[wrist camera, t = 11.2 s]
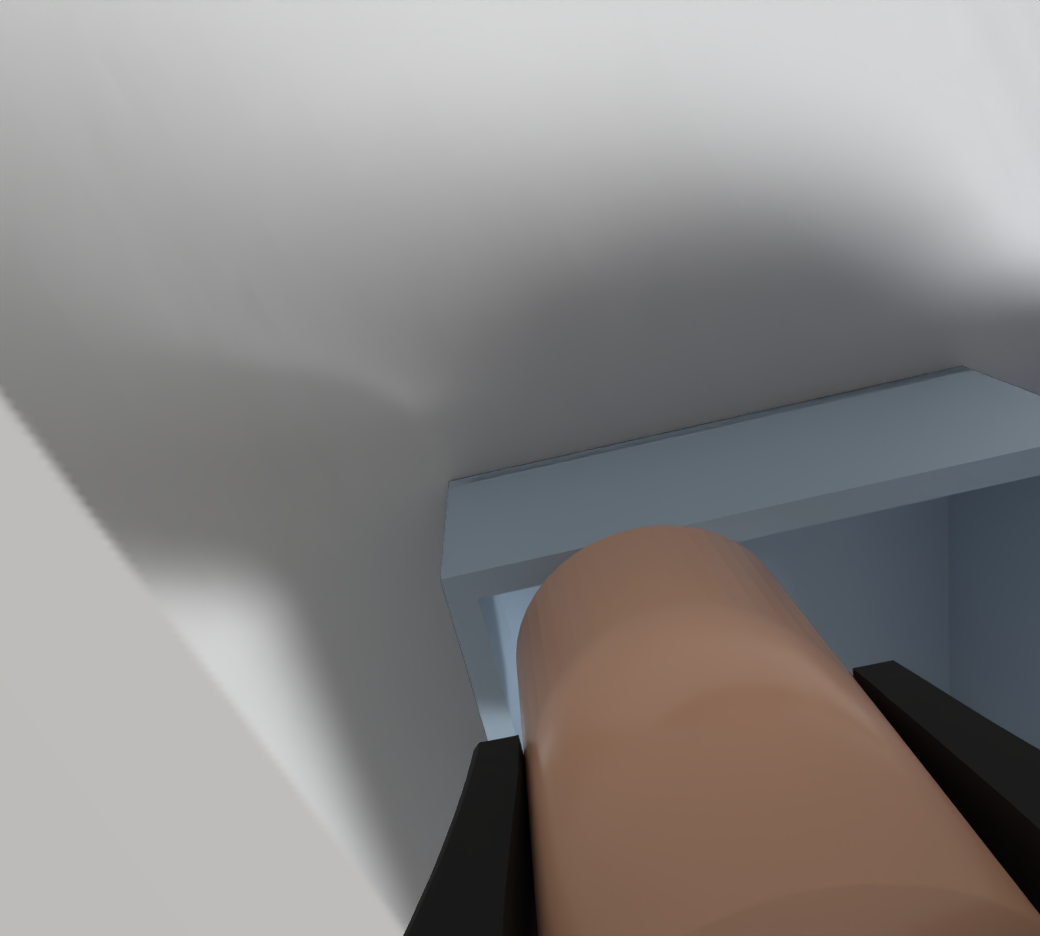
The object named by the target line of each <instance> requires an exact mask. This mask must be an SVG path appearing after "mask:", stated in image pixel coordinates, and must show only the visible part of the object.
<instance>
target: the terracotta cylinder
mask: <svg viewBox="0 0 1040 936" xmlns="http://www.w3.org/2000/svg"><path fill="white" fill-rule="evenodd" d="M516 665H517V678H518V691H519V703H520V716H521V728H522V741H523V753H524V765H525V777H526V790H527V802H528V815H529V828H530V840H531V853H532V865H533V878H534V890H535V903H536V915H537V928H538V936H1040V914H1039V913H1038V911H1037V910H1036V909H1035V907H1034V906H1033V905H1032V904H1031V902H1030V901H1029V900H1028V899H1027V897H1026V896H1025V895H1024V893H1023V892H1022V891H1021V890H1020V888H1019V887H1018V886H1017V885H1016V883H1015V882H1014V881H1013V879H1012V878H1011V877H1010V876H1009V874H1008V873H1007V872H1006V871H1005V869H1004V868H1003V867H1002V865H1001V864H1000V863H999V862H998V860H997V859H996V858H995V857H994V855H993V854H992V853H991V851H990V850H989V849H988V848H987V846H986V845H985V844H984V843H983V841H982V840H981V839H980V837H979V836H978V835H977V834H976V832H975V831H974V830H973V829H972V827H971V826H970V825H969V823H968V822H967V821H966V820H965V818H964V817H963V816H962V815H961V813H960V812H959V811H958V809H957V808H956V807H955V806H954V804H953V803H952V802H951V801H950V799H949V798H948V797H947V795H946V794H945V793H944V792H943V790H942V789H941V788H940V787H939V785H938V784H937V783H936V781H935V780H934V779H933V778H932V776H931V775H930V774H929V773H928V771H927V770H926V769H925V767H924V766H923V765H922V764H921V762H920V761H919V760H918V759H917V757H916V756H915V755H914V753H913V752H912V751H911V750H910V748H909V747H908V746H907V745H906V743H905V742H904V741H903V739H902V738H901V737H900V736H899V734H898V733H897V732H896V731H895V729H894V728H893V727H892V725H891V724H890V723H889V722H888V720H887V719H886V718H885V716H884V715H883V714H882V713H881V711H880V710H879V709H878V708H877V706H876V705H875V704H874V702H873V701H872V700H871V699H870V697H869V696H868V695H867V694H866V692H865V691H864V690H863V688H862V687H861V686H860V685H859V683H858V682H857V681H856V680H855V678H854V677H853V676H852V674H851V673H850V672H849V671H848V669H847V668H846V667H845V666H844V664H843V663H842V662H841V660H840V659H839V658H838V657H837V655H836V654H835V653H834V652H833V650H832V649H831V648H830V646H829V645H828V644H827V643H826V641H825V640H824V639H823V638H822V636H821V635H820V634H819V632H818V631H817V630H816V629H815V627H814V626H813V625H812V624H811V622H810V621H809V620H808V618H807V617H806V616H805V615H804V613H803V612H802V611H801V610H800V608H799V607H798V606H797V604H796V603H795V602H794V601H793V599H792V598H791V597H790V596H789V594H788V593H787V592H786V590H785V589H784V588H783V587H782V585H781V584H780V583H779V582H778V580H777V579H776V578H775V576H774V575H773V574H772V573H771V572H770V570H769V569H768V568H767V567H766V566H765V564H764V563H763V562H762V561H761V560H759V559H758V558H757V557H756V556H755V555H754V554H753V553H751V552H750V551H749V550H747V549H746V548H744V547H743V546H741V545H740V544H738V543H736V542H735V541H733V540H730V539H728V538H726V537H724V536H722V535H720V534H716V533H713V532H710V531H707V530H703V529H699V528H693V527H687V526H674V525H659V526H646V527H641V528H635V529H630V530H626V531H623V532H620V533H616V534H613V535H610V536H607V537H605V538H603V539H601V540H599V541H596V542H594V543H592V544H590V545H588V546H587V547H585V548H583V549H582V550H580V551H578V552H577V553H575V554H574V555H572V556H571V557H570V558H569V559H567V560H566V561H565V562H563V563H562V564H561V565H560V566H559V567H558V568H557V569H556V570H555V571H554V572H553V573H552V574H551V575H550V576H549V577H548V578H547V579H546V580H545V581H544V583H543V584H542V585H541V587H540V588H539V589H538V591H537V592H536V593H535V595H534V597H533V599H532V600H531V602H530V604H529V606H528V607H527V610H526V612H525V615H524V617H523V620H522V622H521V625H520V630H519V634H518V638H517V647H516Z"/></svg>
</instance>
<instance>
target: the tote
mask: <svg viewBox="0 0 1040 936" xmlns="http://www.w3.org/2000/svg"><path fill="white" fill-rule="evenodd" d="M659 525H674V526H687V527H693V528H699V529H703V530H707V531H710V532H713V533H716V534H720V535H722V536H724V537H726V538H728V539H730V540H733V541H735V542H736V543H738V544H740V545H741V546H743V547H744V548H746V549H747V550H749V551H750V552H751V553H753V554H754V555H755V556H756V557H757V558H758V559H759V560H761V561H762V562H763V563H764V564H765V566H766V567H767V568H768V569H769V570H770V572H771V573H772V574H773V575H774V576H775V578H776V579H777V580H778V582H779V583H780V584H781V585H782V587H783V588H784V589H785V590H786V592H787V593H788V594H789V596H790V597H791V598H792V599H793V601H794V602H795V603H796V604H797V606H798V607H799V608H800V610H801V611H802V612H803V613H804V615H805V616H806V617H807V618H808V620H809V621H810V622H811V624H812V625H813V626H814V627H815V629H816V630H817V631H818V632H819V634H820V635H821V636H822V638H823V639H824V640H825V641H826V643H827V644H828V645H829V646H830V648H831V649H832V650H833V652H834V653H835V654H836V655H837V657H838V658H839V659H840V660H841V662H842V663H843V664H844V666H845V667H846V668H847V669H848V671H849V672H850V673H851V674H852V676H853V668H856V667H861V666H866V665H871V664H876V663H881V662H886V661H891V660H894V661H895V662H897V663H899V664H900V665H902V666H904V667H905V668H907V669H909V670H910V671H912V672H913V673H915V674H917V675H918V676H920V677H921V678H923V679H925V680H926V681H928V682H929V683H931V684H933V685H934V686H936V687H937V688H939V689H941V690H942V691H944V692H945V693H947V694H949V695H950V696H952V697H953V698H955V699H957V700H958V701H960V702H961V703H963V704H965V705H966V706H968V707H969V708H971V709H973V710H974V711H976V712H977V713H979V714H981V715H982V716H984V717H986V718H987V719H989V720H991V721H992V722H994V723H996V724H997V725H999V726H1000V727H1002V728H1004V729H1006V730H1007V731H1009V732H1011V733H1012V734H1014V735H1016V736H1017V737H1019V738H1021V739H1022V740H1024V741H1026V742H1028V743H1029V744H1031V745H1033V746H1034V747H1036V748H1038V749H1040V395H1037V394H1035V393H1032V392H1029V391H1027V390H1024V389H1021V388H1019V387H1016V386H1013V385H1011V384H1008V383H1005V382H1003V381H1000V380H998V379H995V378H992V377H990V376H987V375H984V374H982V373H979V372H976V371H974V370H971V369H968V368H966V367H963V366H961V367H956V368H952V369H948V370H943V371H939V372H934V373H930V374H925V375H921V376H916V377H912V378H908V379H903V380H899V381H894V382H890V383H885V384H881V385H876V386H872V387H867V388H863V389H859V390H854V391H850V392H845V393H841V394H836V395H832V396H827V397H823V398H819V399H814V400H810V401H805V402H801V403H796V404H792V405H787V406H783V407H778V408H774V409H770V410H765V411H761V412H756V413H752V414H747V415H743V416H738V417H734V418H730V419H725V420H721V421H716V422H712V423H707V424H703V425H698V426H694V427H690V428H685V429H681V430H676V431H672V432H667V433H663V434H658V435H654V436H649V437H645V438H641V439H636V440H632V441H627V442H623V443H618V444H614V445H609V446H605V447H601V448H596V449H592V450H587V451H583V452H578V453H574V454H569V455H565V456H560V457H556V458H552V459H547V460H543V461H538V462H534V463H529V464H525V465H520V466H516V467H512V468H507V469H503V470H498V471H494V472H489V473H485V474H480V475H476V476H471V477H467V478H463V479H458V480H454V481H449V485H448V496H447V507H446V519H445V530H444V541H443V553H442V564H441V576H440V581H441V584H442V587H443V591H444V594H445V597H446V601H447V604H448V608H449V611H450V614H451V618H452V621H453V625H454V628H455V631H456V635H457V638H458V641H459V645H460V648H461V652H462V655H463V658H464V662H465V665H466V669H467V672H468V675H469V679H470V682H471V685H472V689H473V692H474V696H475V699H476V702H477V706H478V709H479V713H480V716H481V719H482V723H483V726H484V729H485V733H486V736H487V740H488V741H490V740H495V739H500V738H505V737H510V736H515V735H519V738H520V742H521V746H522V750H523V741H522V728H521V716H520V703H519V691H518V678H517V665H516V647H517V638H518V634H519V630H520V625H521V622H522V620H523V617H524V615H525V612H526V610H527V607H528V606H529V604H530V602H531V600H532V599H533V597H534V595H535V593H536V592H537V591H538V589H539V588H540V587H541V585H542V584H543V583H544V581H545V580H546V579H547V578H548V577H549V576H550V575H551V574H552V573H553V572H554V571H555V570H556V569H557V568H558V567H559V566H560V565H561V564H562V563H563V562H565V561H566V560H567V559H569V558H570V557H571V556H572V555H574V554H575V553H577V552H578V551H580V550H582V549H583V548H585V547H587V546H588V545H590V544H592V543H594V542H596V541H599V540H601V539H603V538H605V537H607V536H610V535H613V534H616V533H620V532H623V531H626V530H630V529H635V528H641V527H646V526H659ZM523 754H524V753H523Z"/></svg>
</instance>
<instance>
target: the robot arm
mask: <svg viewBox="0 0 1040 936" xmlns="http://www.w3.org/2000/svg"><path fill="white" fill-rule="evenodd" d="M853 677H854V678H855V680H856V681H857V682H858V683H859V685H860V686H861V687H862V688H863V690H864V691H865V692H866V694H867V695H868V696H869V697H870V699H871V700H872V701H873V702H874V704H875V705H876V706H877V708H878V709H879V710H880V711H881V713H882V714H883V715H884V716H885V718H886V719H887V720H888V722H889V723H890V724H891V725H892V727H893V728H894V729H895V731H896V732H897V733H898V734H899V736H900V737H901V738H902V739H903V741H904V742H905V743H906V745H907V746H908V747H909V748H910V750H911V751H912V752H913V753H914V755H915V756H916V757H917V759H918V760H919V761H920V762H921V764H922V765H923V766H924V767H925V769H926V770H927V771H928V773H929V774H930V775H931V776H932V778H933V779H934V780H935V781H936V783H937V784H938V785H939V787H940V788H941V789H942V790H943V792H944V793H945V794H946V795H947V797H948V798H949V799H950V801H951V802H952V803H953V804H954V806H955V807H956V808H957V809H958V811H959V812H960V813H961V815H962V816H963V817H964V818H965V820H966V821H967V822H968V823H969V825H970V826H971V827H972V829H973V830H974V831H975V832H976V834H977V835H978V836H979V837H980V839H981V840H982V841H983V843H984V844H985V845H986V846H987V848H988V849H989V850H990V851H991V853H992V854H993V855H994V857H995V858H996V859H997V860H998V862H999V863H1000V864H1001V865H1002V867H1003V868H1004V869H1005V871H1006V872H1007V873H1008V874H1009V876H1010V877H1011V878H1012V879H1013V881H1014V882H1015V883H1016V885H1017V886H1018V887H1019V888H1020V890H1021V891H1022V892H1023V893H1024V895H1025V896H1026V897H1027V899H1028V900H1029V901H1030V902H1031V904H1032V905H1033V906H1034V907H1035V909H1036V910H1037V911H1038V913H1039V914H1040V749H1038V748H1036V747H1034V746H1033V745H1031V744H1029V743H1028V742H1026V741H1024V740H1022V739H1021V738H1019V737H1017V736H1016V735H1014V734H1012V733H1011V732H1009V731H1007V730H1006V729H1004V728H1002V727H1000V726H999V725H997V724H996V723H994V722H992V721H991V720H989V719H987V718H986V717H984V716H982V715H981V714H979V713H977V712H976V711H974V710H973V709H971V708H969V707H968V706H966V705H965V704H963V703H961V702H960V701H958V700H957V699H955V698H953V697H952V696H950V695H949V694H947V693H945V692H944V691H942V690H941V689H939V688H937V687H936V686H934V685H933V684H931V683H929V682H928V681H926V680H925V679H923V678H921V677H920V676H918V675H917V674H915V673H913V672H912V671H910V670H909V669H907V668H905V667H904V666H902V665H900V664H899V663H897V662H895V661H894V660H891V661H886V662H881V663H876V664H871V665H866V666H861V667H856V668H853ZM403 936H538V928H537V915H536V903H535V890H534V878H533V865H532V853H531V840H530V828H529V815H528V802H527V790H526V777H525V765H524V754H523V750H522V746H521V742H520V738H519V735H515V736H510V737H505V738H500V739H495V740H490V741H485V742H480V743H479V744H478V745H477V747H476V748H475V749H474V752H473V756H472V760H471V764H470V768H469V771H468V775H467V778H466V782H465V785H464V788H463V791H462V794H461V797H460V800H459V803H458V806H457V809H456V812H455V815H454V818H453V820H452V823H451V826H450V828H449V831H448V833H447V836H446V839H445V841H444V844H443V846H442V849H441V852H440V854H439V857H438V859H437V862H436V864H435V867H434V869H433V872H432V874H431V876H430V879H429V881H428V883H427V885H426V887H425V890H424V892H423V894H422V896H421V898H420V901H419V903H418V905H417V907H416V910H415V912H414V914H413V916H412V918H411V921H410V923H409V925H408V927H407V929H406V931H405V933H404V935H403Z"/></svg>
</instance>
